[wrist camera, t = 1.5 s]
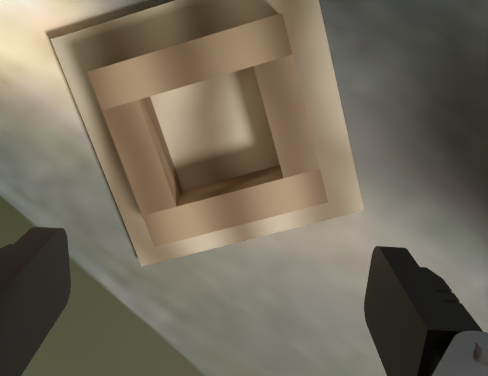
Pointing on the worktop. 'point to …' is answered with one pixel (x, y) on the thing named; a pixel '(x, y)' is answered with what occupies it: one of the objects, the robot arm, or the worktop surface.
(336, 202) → the socket block
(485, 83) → the worktop surface
